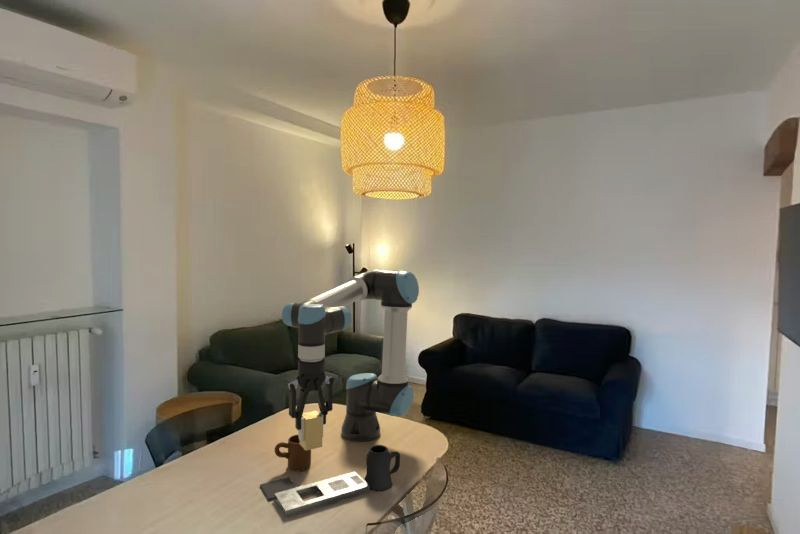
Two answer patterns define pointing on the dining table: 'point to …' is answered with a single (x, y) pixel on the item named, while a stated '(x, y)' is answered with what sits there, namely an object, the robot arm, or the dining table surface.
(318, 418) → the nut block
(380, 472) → the mug
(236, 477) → the dining table surface
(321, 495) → the grey board with slots
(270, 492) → the rubber mat
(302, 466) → the mug
